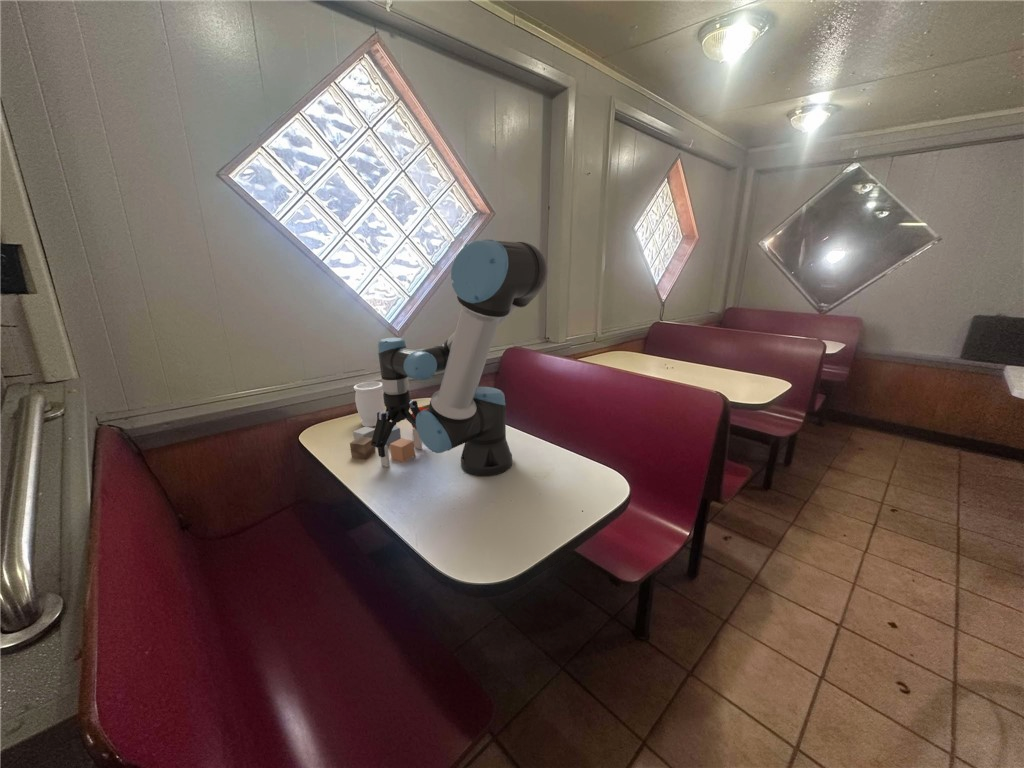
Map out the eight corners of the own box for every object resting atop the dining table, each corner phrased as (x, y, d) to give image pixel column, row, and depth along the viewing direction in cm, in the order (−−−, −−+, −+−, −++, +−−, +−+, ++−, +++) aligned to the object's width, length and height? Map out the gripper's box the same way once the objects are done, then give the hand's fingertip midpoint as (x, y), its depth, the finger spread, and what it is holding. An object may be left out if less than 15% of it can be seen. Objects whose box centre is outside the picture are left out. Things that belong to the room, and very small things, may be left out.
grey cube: (377, 442, 133) (375, 429, 131) (365, 448, 129) (363, 434, 127) (367, 439, 135) (365, 426, 134) (355, 445, 131) (353, 431, 130)
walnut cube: (375, 452, 126) (373, 438, 124) (365, 459, 121) (363, 444, 120) (361, 451, 127) (359, 436, 126) (351, 457, 122) (349, 443, 121)
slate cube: (401, 441, 133) (399, 428, 132) (388, 446, 130) (386, 432, 128) (392, 438, 136) (391, 424, 135) (379, 442, 133) (378, 428, 131)
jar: (359, 419, 153) (354, 382, 149) (387, 416, 156) (383, 380, 152) (357, 429, 143) (352, 390, 139) (387, 426, 146) (383, 387, 142)
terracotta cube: (415, 455, 123) (413, 441, 122) (403, 462, 119) (401, 447, 117) (403, 452, 125) (401, 437, 124) (391, 458, 121) (389, 443, 120)
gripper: (416, 378, 128) (421, 438, 134) (352, 401, 108) (361, 470, 114) (434, 382, 125) (438, 443, 131) (370, 405, 104) (379, 477, 110)
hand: (402, 456), depth 122 cm, fingers open, 13 cm apart
